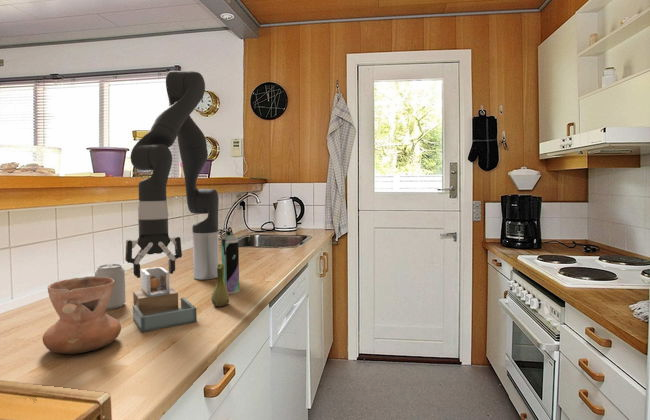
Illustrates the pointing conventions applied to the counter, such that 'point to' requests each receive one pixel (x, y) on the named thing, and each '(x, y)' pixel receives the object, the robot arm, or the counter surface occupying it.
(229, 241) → the spray can
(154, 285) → the ball
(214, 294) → the fennel bulb
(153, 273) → the chute
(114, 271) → the can
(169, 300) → the stand
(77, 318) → the ceramic jug
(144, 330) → the tray
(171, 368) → the counter surface
